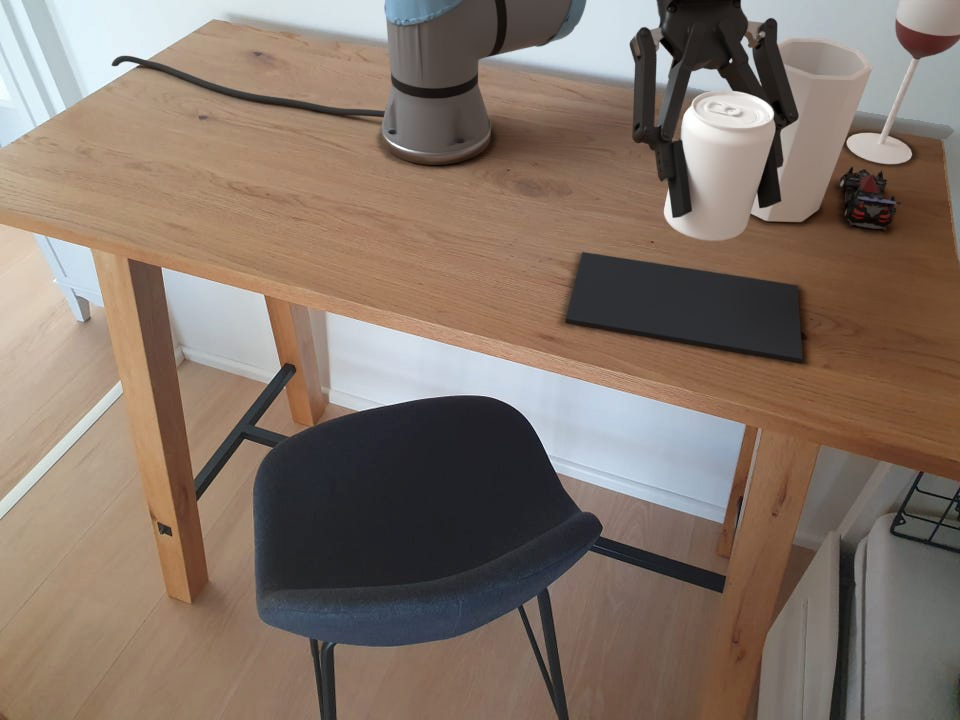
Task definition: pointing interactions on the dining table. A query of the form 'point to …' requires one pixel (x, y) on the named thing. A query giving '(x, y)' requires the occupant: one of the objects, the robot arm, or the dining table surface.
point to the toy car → (860, 192)
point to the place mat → (687, 306)
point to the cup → (815, 122)
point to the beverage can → (723, 162)
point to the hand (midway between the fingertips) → (726, 209)
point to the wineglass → (911, 67)
